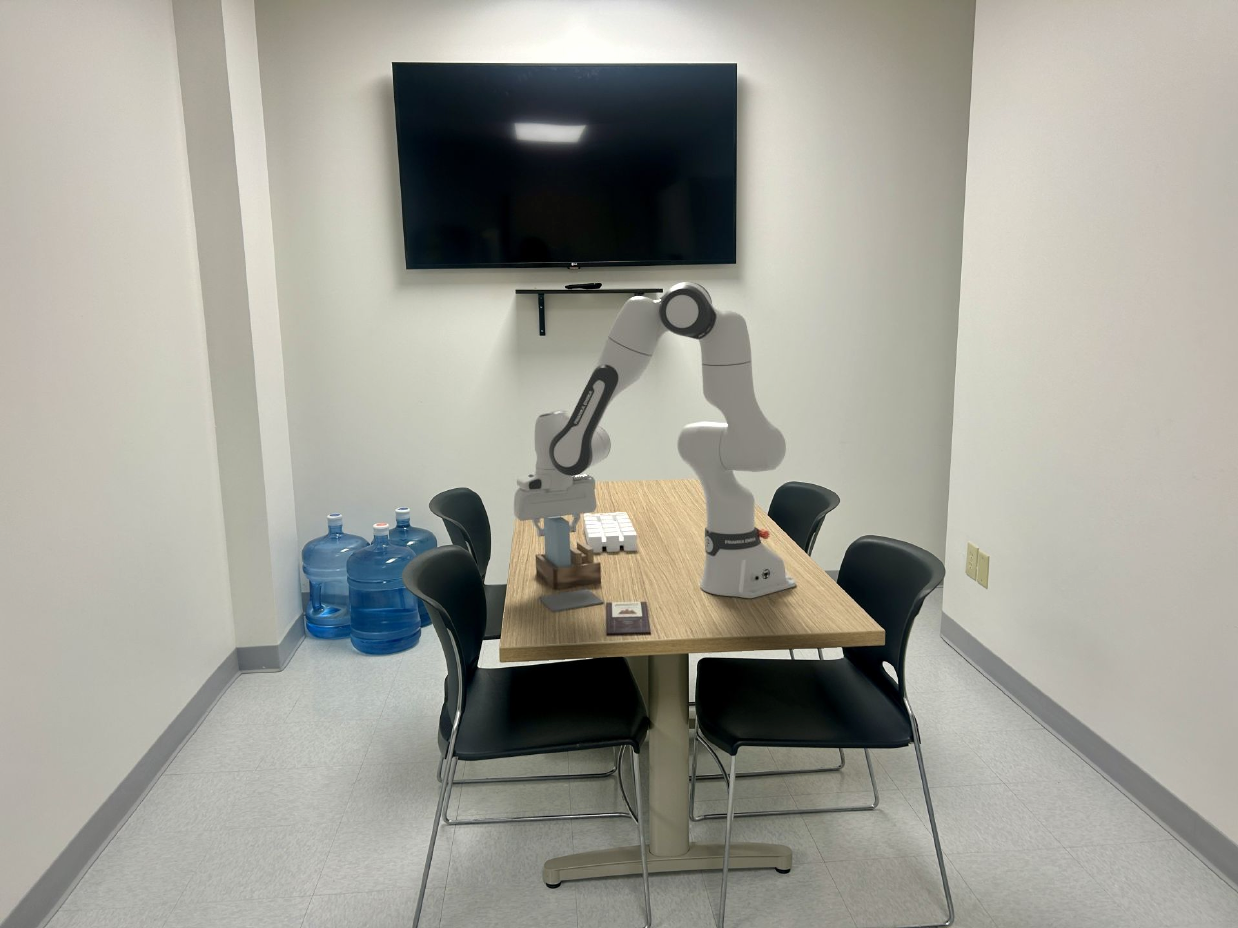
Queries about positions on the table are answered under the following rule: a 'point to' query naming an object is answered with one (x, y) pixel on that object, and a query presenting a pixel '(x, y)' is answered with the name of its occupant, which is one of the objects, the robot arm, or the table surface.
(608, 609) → the chocolate bar
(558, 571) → the rack
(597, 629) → the table surface
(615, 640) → the table surface
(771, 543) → the table surface
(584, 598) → the mat
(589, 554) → the offcuts
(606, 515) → the organizer
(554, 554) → the light blue block
